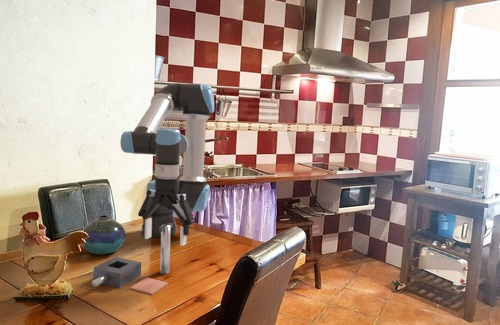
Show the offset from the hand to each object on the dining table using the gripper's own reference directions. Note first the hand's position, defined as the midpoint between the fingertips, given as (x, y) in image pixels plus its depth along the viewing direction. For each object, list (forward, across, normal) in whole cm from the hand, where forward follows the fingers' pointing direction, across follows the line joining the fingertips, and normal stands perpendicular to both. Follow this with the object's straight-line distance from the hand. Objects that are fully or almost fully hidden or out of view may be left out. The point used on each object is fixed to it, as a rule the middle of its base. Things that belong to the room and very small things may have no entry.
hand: (165, 241), depth 128 cm
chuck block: (+11, -10, -13) cm, 20 cm away
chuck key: (+11, 0, 0) cm, 11 cm away
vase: (+11, -30, +5) cm, 33 cm away
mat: (+11, +2, -10) cm, 15 cm away
